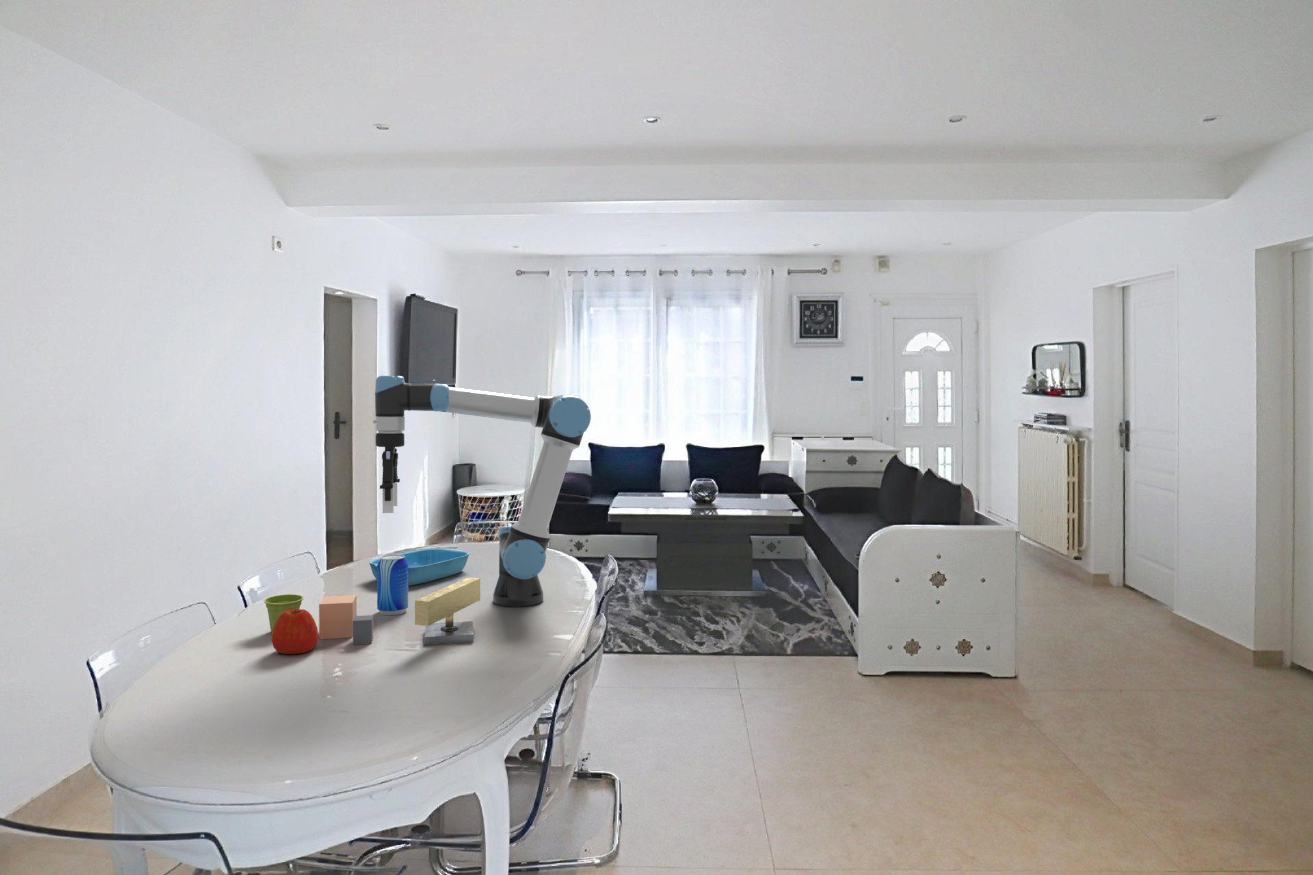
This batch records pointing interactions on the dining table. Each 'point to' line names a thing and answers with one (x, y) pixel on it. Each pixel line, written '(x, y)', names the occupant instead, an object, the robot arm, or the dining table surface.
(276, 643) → the apple
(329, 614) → the peach tan cube
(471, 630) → the grey square base plate
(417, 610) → the yellow t-shaped bar
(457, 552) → the casserole dish
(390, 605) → the beer can
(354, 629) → the slate grey block
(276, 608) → the plant pot
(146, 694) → the dining table surface
